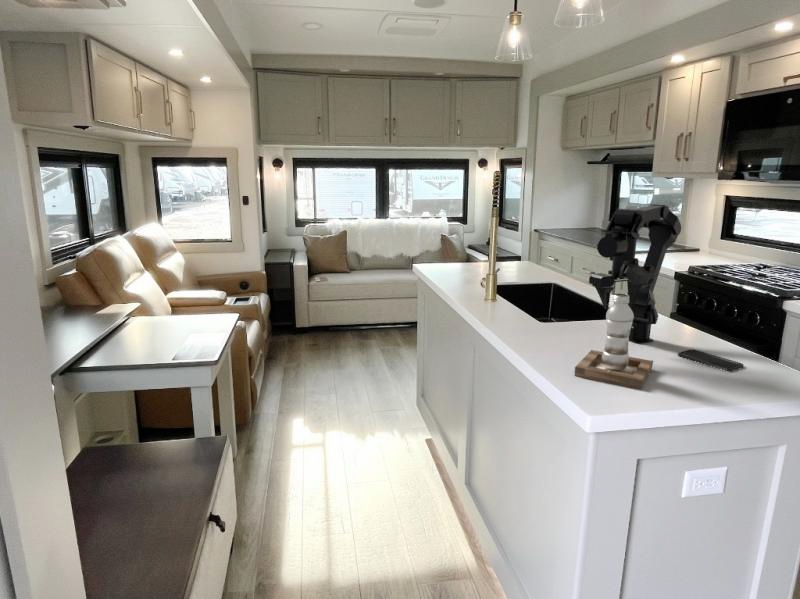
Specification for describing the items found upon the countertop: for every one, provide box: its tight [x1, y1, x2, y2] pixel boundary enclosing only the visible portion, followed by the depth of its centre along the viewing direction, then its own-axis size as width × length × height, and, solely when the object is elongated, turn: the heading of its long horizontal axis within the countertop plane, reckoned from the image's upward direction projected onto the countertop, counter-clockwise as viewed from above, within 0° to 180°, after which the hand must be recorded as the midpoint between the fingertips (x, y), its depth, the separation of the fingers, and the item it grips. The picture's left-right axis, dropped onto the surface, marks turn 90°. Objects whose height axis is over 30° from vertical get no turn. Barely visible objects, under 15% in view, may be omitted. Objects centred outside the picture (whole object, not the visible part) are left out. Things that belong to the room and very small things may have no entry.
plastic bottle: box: [602, 293, 634, 371], centre depth 140 cm, size 6×7×20 cm
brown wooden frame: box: [574, 349, 654, 390], centre depth 142 cm, size 16×16×3 cm
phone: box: [677, 348, 744, 372], centre depth 151 cm, size 8×1×15 cm
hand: (618, 307), depth 157 cm, fingers open, 9 cm apart
